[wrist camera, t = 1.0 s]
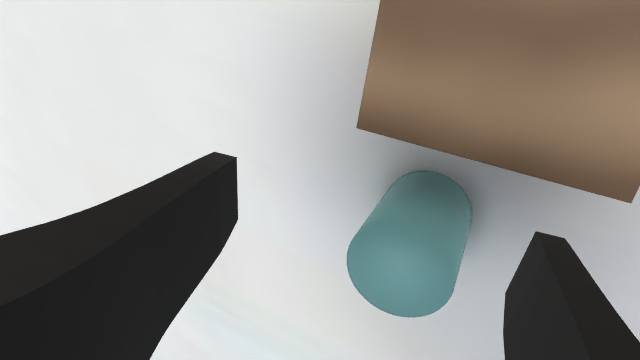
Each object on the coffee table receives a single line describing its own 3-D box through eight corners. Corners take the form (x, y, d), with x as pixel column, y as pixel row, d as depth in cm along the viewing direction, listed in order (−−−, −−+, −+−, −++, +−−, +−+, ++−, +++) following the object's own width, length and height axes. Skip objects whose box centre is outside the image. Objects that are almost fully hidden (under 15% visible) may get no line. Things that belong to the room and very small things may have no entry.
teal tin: (458, 262, 27) (439, 333, 21) (376, 234, 28) (339, 293, 23) (483, 186, 24) (469, 242, 19) (393, 160, 26) (356, 205, 20)
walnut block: (615, 171, 22) (630, 203, 19) (379, 110, 26) (356, 128, 22) (751, -122, 17) (808, -152, 13) (432, -146, 20) (413, -174, 17)
